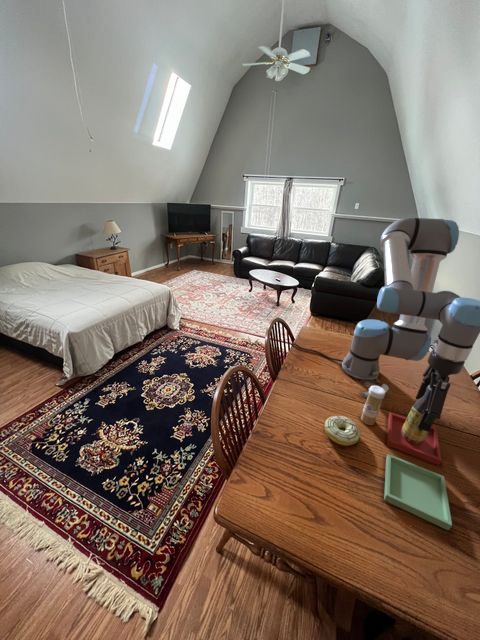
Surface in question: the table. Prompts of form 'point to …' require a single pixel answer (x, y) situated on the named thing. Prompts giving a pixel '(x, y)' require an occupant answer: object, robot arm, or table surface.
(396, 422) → the red tray
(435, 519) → the green tray
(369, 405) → the sprinkles bottle
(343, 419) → the decorated donut
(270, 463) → the table surface
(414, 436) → the sauce bottle
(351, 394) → the table surface
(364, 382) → the eagle figurine
